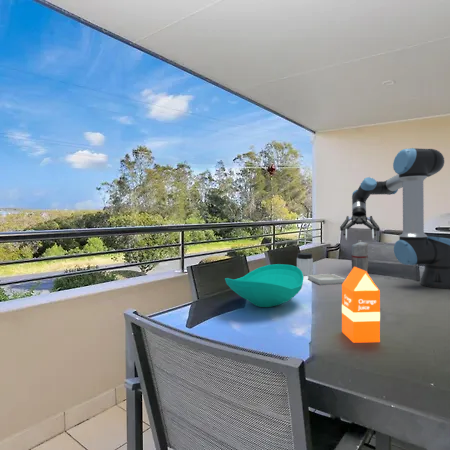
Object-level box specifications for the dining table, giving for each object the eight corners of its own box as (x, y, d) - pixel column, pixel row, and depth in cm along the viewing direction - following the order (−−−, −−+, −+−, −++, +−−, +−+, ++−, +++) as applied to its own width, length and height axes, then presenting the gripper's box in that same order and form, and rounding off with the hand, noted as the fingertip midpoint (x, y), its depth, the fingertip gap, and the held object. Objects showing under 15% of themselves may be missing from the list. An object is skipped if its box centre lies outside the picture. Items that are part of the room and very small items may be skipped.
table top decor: (257, 290, 161) (257, 262, 161) (316, 298, 146) (316, 266, 146) (207, 312, 128) (206, 276, 128) (276, 325, 113) (276, 284, 112)
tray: (346, 283, 173) (346, 278, 173) (319, 285, 171) (319, 280, 171) (332, 278, 187) (332, 273, 187) (308, 279, 185) (308, 275, 185)
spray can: (366, 283, 173) (366, 243, 172) (349, 281, 178) (349, 242, 177) (370, 280, 180) (370, 241, 179) (354, 278, 185) (354, 241, 184)
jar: (306, 276, 193) (306, 255, 193) (294, 274, 199) (294, 253, 198) (315, 274, 199) (315, 253, 199) (303, 272, 205) (303, 252, 205)
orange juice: (366, 331, 106) (366, 266, 105) (380, 342, 97) (380, 271, 96) (341, 331, 106) (341, 266, 105) (352, 342, 97) (352, 271, 96)
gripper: (382, 215, 200) (384, 244, 186) (336, 216, 208) (335, 243, 195) (383, 206, 195) (385, 235, 181) (336, 207, 203) (335, 234, 190)
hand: (359, 239), depth 188 cm, fingers open, 13 cm apart
